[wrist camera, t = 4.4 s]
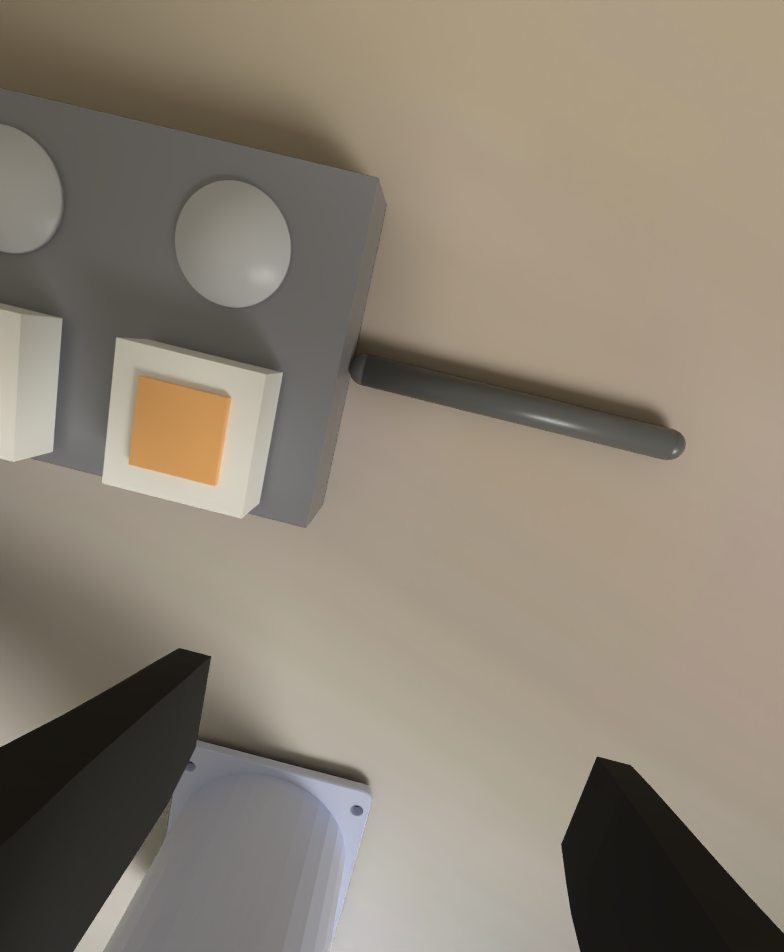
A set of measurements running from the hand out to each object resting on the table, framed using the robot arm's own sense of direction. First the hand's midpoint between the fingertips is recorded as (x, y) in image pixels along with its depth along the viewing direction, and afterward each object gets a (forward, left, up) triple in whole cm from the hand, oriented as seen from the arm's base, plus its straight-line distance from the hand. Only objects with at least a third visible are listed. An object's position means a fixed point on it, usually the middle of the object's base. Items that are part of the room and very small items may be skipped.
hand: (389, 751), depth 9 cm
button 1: (+4, +7, -7) cm, 10 cm away
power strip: (+6, +8, -9) cm, 14 cm away
